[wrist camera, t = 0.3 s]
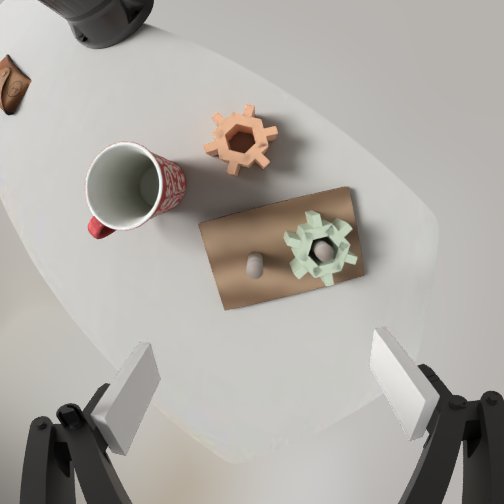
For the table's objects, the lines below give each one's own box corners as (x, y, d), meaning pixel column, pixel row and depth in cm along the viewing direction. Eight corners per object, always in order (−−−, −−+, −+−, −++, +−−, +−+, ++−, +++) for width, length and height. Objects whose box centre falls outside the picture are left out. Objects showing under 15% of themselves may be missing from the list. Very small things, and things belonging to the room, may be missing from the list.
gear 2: (278, 218, 38) (281, 223, 33) (337, 204, 37) (348, 207, 33) (293, 280, 40) (298, 294, 35) (349, 266, 39) (360, 277, 34)
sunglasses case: (34, 79, 34) (6, 89, 29) (28, 108, 38) (3, 119, 33) (7, 52, 31) (-17, 60, 26) (2, 78, 36) (-20, 86, 31)
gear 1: (198, 143, 37) (190, 138, 32) (241, 102, 36) (238, 92, 31) (244, 188, 39) (242, 188, 34) (287, 146, 37) (291, 141, 32)
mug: (166, 140, 37) (125, 123, 24) (206, 186, 39) (180, 188, 26) (108, 200, 39) (54, 209, 26) (144, 244, 41) (100, 270, 28)
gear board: (200, 222, 40) (187, 231, 33) (345, 186, 38) (363, 187, 31) (225, 306, 43) (219, 330, 35) (361, 272, 41) (379, 289, 34)
